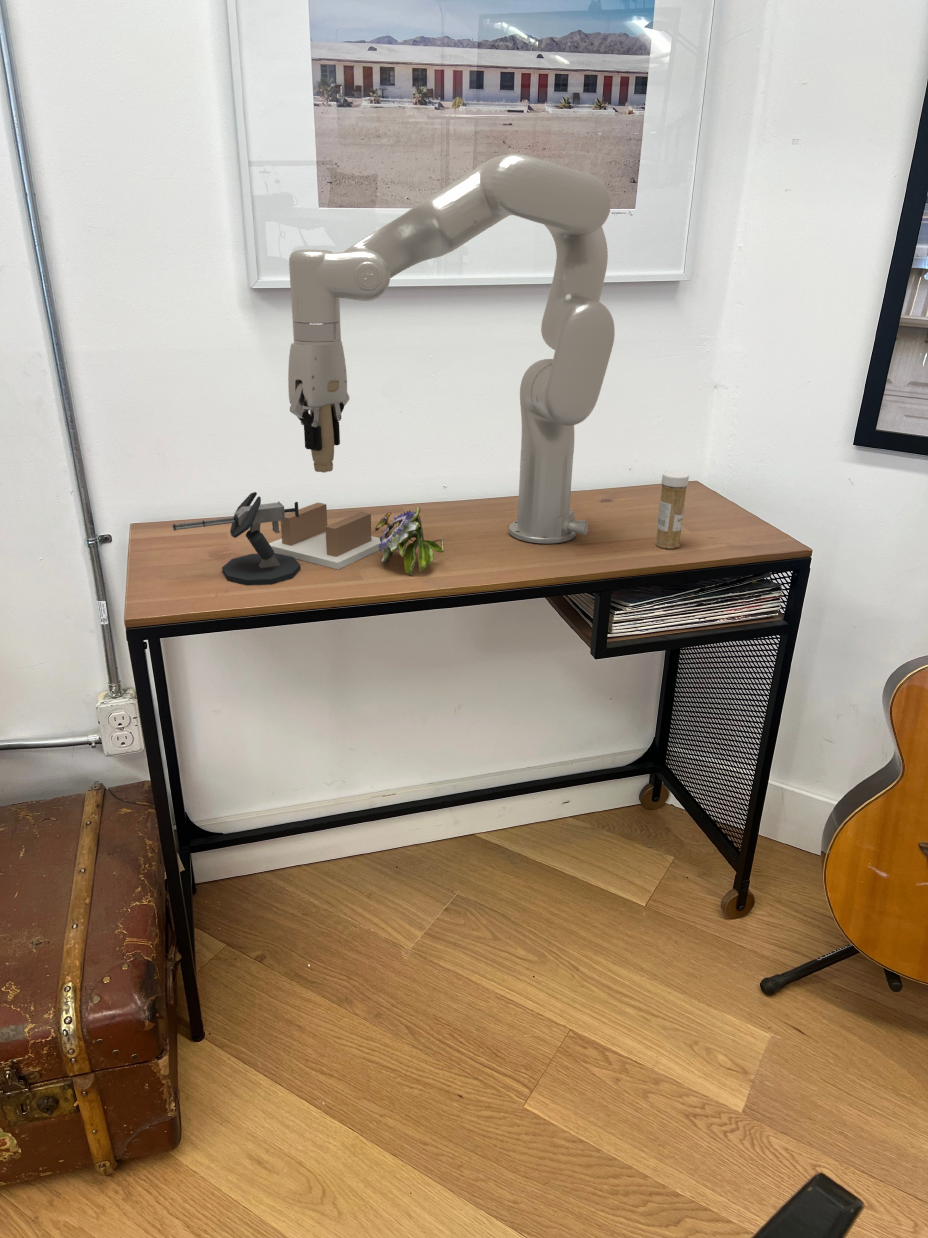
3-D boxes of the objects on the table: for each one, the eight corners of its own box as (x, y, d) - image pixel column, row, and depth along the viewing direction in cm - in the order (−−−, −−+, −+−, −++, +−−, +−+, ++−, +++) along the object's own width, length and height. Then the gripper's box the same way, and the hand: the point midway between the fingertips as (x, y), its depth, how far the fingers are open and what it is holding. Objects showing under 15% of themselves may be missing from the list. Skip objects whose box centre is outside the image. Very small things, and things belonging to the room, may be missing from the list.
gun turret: (174, 570, 144) (164, 494, 139) (292, 553, 152) (287, 481, 147) (188, 597, 134) (178, 516, 128) (314, 577, 142) (310, 501, 136)
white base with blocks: (387, 546, 156) (386, 512, 154) (338, 569, 145) (336, 534, 143) (318, 529, 164) (316, 497, 161) (266, 551, 153) (263, 517, 150)
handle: (343, 473, 147) (339, 382, 141) (304, 474, 146) (299, 383, 140) (341, 466, 151) (338, 378, 145) (304, 467, 150) (299, 378, 144)
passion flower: (387, 592, 151) (369, 527, 153) (447, 576, 152) (429, 512, 154) (388, 578, 140) (369, 508, 141) (453, 561, 141) (433, 492, 143)
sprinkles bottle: (682, 549, 157) (692, 476, 152) (657, 549, 157) (666, 476, 152) (676, 541, 162) (685, 470, 156) (651, 541, 161) (659, 469, 156)
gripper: (332, 327, 148) (336, 435, 155) (263, 336, 135) (271, 453, 142) (367, 330, 144) (370, 440, 152) (300, 340, 131) (307, 460, 139)
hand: (322, 445), depth 147 cm, fingers closed on handle, 4 cm apart
